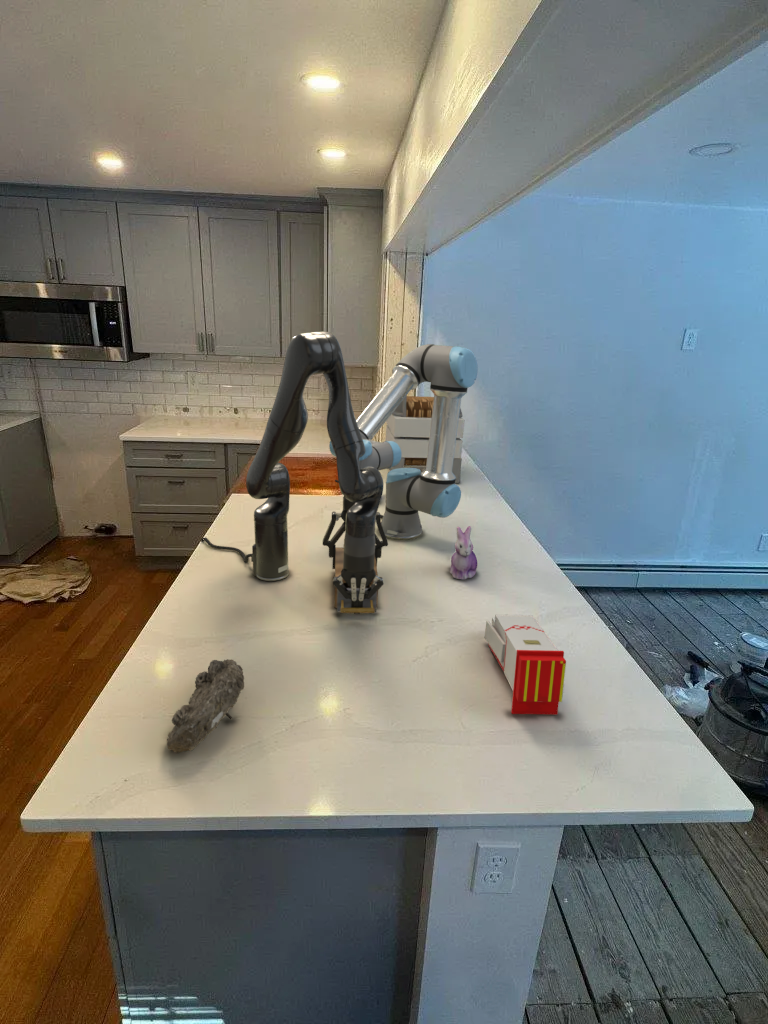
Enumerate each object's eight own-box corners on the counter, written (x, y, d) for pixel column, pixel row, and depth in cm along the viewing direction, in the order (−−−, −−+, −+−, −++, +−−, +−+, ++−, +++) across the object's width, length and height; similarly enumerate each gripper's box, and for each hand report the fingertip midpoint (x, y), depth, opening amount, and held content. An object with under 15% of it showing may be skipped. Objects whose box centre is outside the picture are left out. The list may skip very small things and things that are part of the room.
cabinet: (377, 607, 150) (378, 579, 147) (334, 607, 149) (335, 579, 146) (372, 573, 170) (373, 547, 167) (335, 572, 169) (335, 547, 166)
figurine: (459, 583, 165) (464, 535, 160) (440, 569, 174) (444, 523, 169) (486, 577, 169) (491, 531, 164) (466, 564, 178) (470, 519, 173)
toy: (530, 600, 137) (574, 657, 108) (525, 651, 140) (567, 720, 111) (480, 599, 137) (511, 656, 107) (477, 651, 139) (506, 719, 110)
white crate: (382, 463, 289) (386, 382, 275) (445, 464, 293) (451, 384, 279) (390, 482, 257) (394, 392, 243) (460, 483, 261) (468, 394, 247)
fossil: (192, 660, 117) (244, 628, 112) (224, 691, 120) (276, 661, 115) (142, 746, 98) (202, 712, 93) (182, 779, 101) (242, 748, 96)
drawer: (377, 622, 141) (378, 600, 139) (336, 623, 140) (337, 600, 138) (371, 577, 164) (372, 558, 162) (337, 577, 164) (337, 557, 161)
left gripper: (331, 555, 132) (330, 620, 138) (388, 556, 133) (384, 620, 139) (331, 542, 139) (330, 604, 145) (385, 543, 140) (381, 604, 146)
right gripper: (313, 499, 153) (313, 572, 160) (400, 500, 155) (396, 573, 162) (314, 491, 160) (314, 561, 167) (397, 492, 162) (393, 562, 169)
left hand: (356, 612), depth 142 cm, fingers closed
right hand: (354, 567), depth 165 cm, fingers closed on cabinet, 11 cm apart
